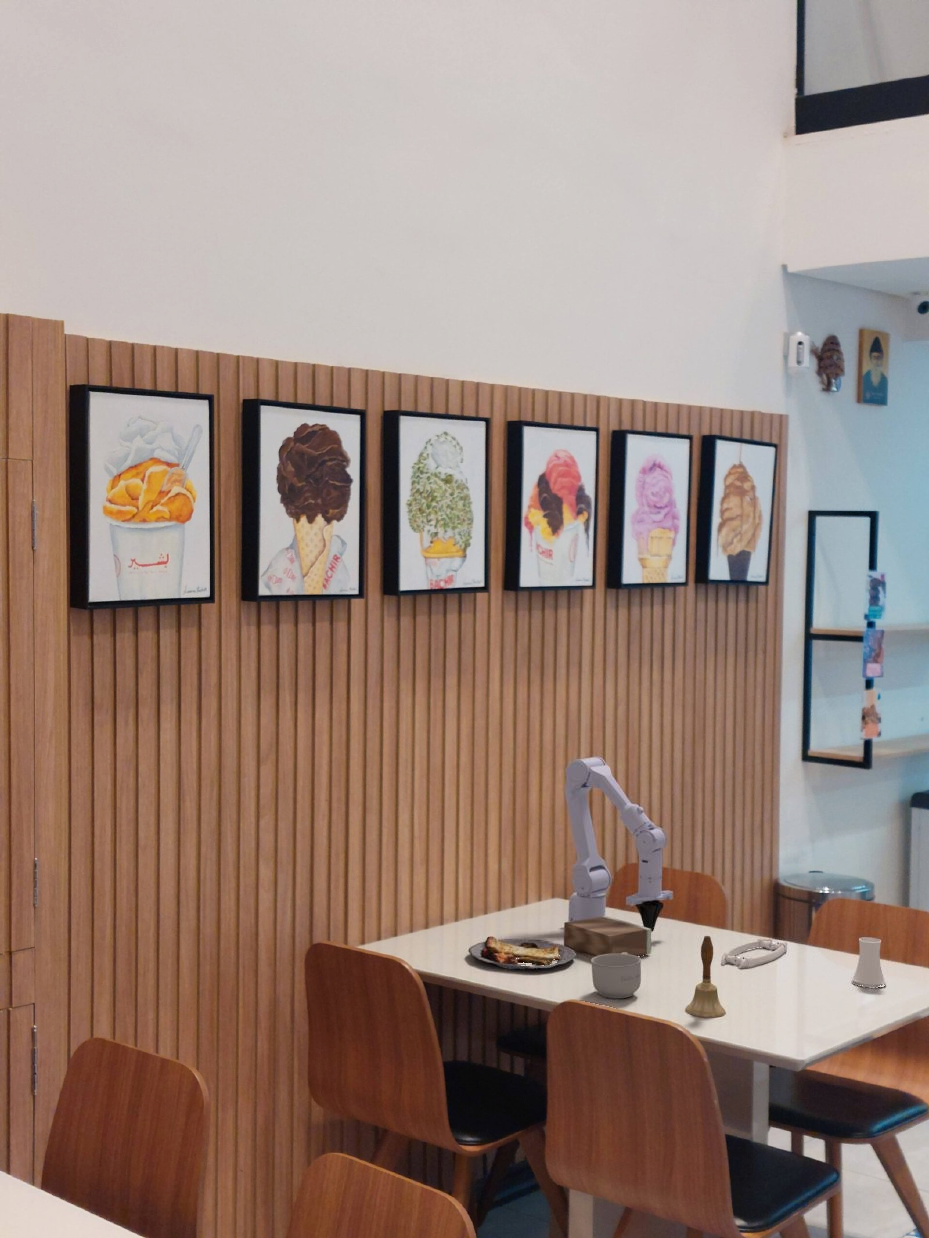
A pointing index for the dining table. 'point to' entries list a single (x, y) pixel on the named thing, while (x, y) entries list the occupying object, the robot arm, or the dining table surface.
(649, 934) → the cabinet door
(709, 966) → the hand bell
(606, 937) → the brown wooden block
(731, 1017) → the dining table surface
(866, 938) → the cooling tower model
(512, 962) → the food plate
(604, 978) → the teacup
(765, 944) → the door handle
